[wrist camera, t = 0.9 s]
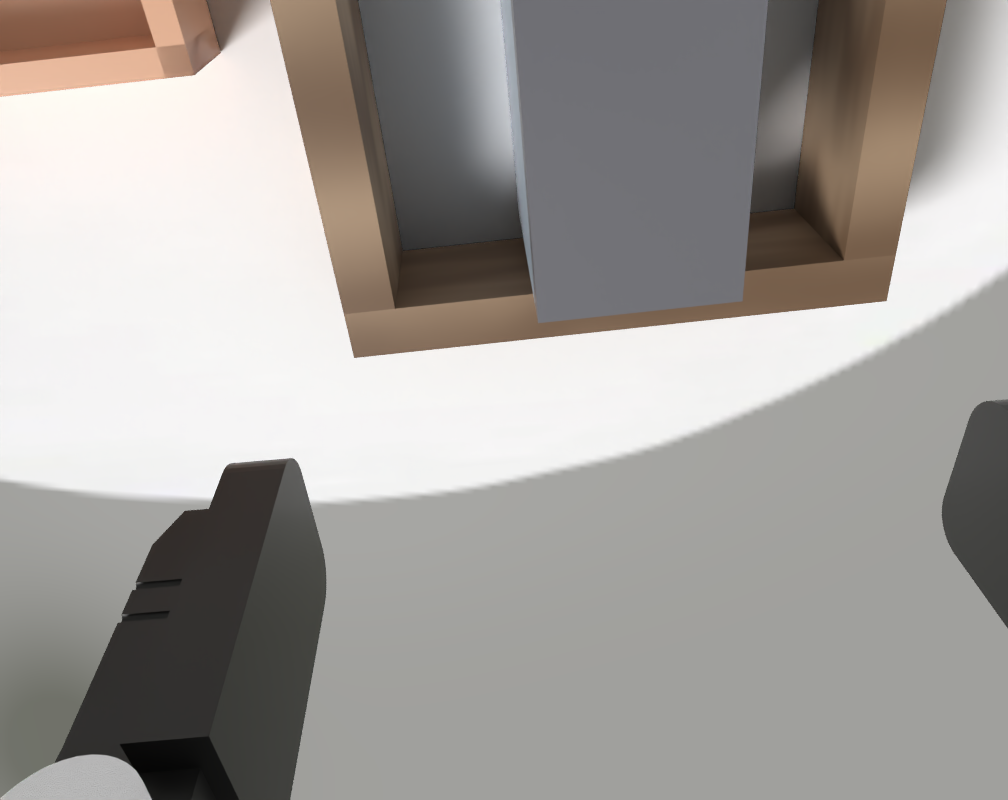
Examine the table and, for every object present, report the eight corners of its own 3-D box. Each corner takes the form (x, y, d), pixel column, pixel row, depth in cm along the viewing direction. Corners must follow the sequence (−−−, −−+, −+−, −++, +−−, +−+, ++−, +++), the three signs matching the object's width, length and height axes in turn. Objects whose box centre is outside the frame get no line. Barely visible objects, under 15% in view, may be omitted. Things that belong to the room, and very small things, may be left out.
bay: (267, -169, 21) (229, -174, 18) (906, -242, 21) (999, -262, 18) (366, 295, 29) (354, 357, 26) (832, 245, 29) (886, 301, 26)
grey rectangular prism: (489, -127, 22) (503, -119, 16) (684, -150, 22) (781, -151, 16) (518, 212, 28) (538, 323, 21) (674, 195, 28) (742, 301, 21)
